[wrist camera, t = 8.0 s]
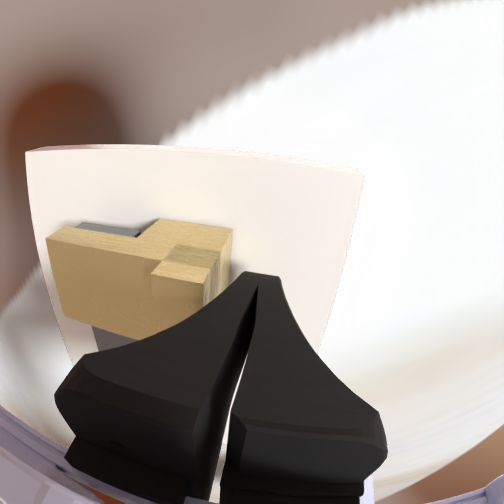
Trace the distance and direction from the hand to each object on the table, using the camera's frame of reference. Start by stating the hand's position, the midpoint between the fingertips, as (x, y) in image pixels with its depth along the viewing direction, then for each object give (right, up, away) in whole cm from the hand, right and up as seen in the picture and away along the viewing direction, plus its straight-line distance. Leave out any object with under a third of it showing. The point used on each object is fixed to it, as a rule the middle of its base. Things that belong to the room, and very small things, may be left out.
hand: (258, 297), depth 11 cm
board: (-5, -3, +6) cm, 8 cm away
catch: (-4, +1, +2) cm, 5 cm away
